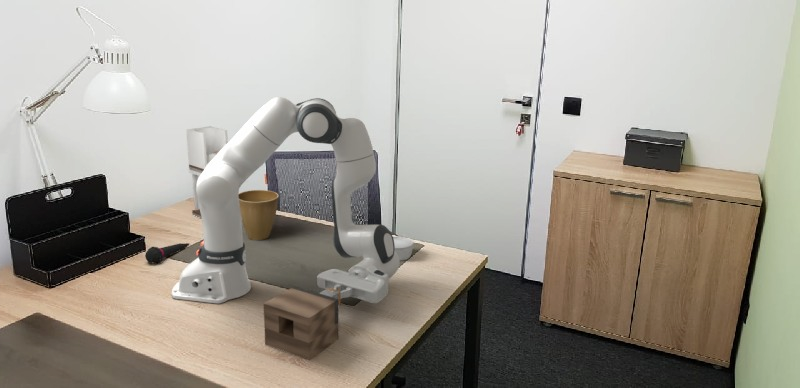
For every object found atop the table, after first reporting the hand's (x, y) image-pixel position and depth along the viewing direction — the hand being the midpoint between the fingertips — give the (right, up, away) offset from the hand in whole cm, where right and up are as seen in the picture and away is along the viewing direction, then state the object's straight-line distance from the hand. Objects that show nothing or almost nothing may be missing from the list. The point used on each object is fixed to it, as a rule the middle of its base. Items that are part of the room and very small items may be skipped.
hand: (334, 295), depth 167 cm
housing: (-7, -10, -10) cm, 16 cm away
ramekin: (+17, +6, +47) cm, 50 cm away
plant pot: (-34, +12, +61) cm, 71 cm away
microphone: (-60, +6, +42) cm, 73 cm away
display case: (-58, +19, +83) cm, 103 cm away
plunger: (-4, -4, -5) cm, 7 cm away
